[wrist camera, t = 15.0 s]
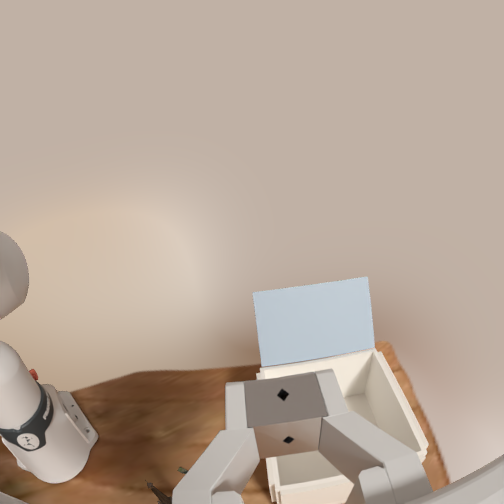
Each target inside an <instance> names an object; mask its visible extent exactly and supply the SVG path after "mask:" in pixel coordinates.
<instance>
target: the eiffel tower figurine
mask: <svg viewBox="0 0 504 504" xmlns="http://www.w3.org/2000/svg"><path fill="white" fill-rule="evenodd" d="M177 471H179V472H181V473H184V474H187V472H188V471H187V470H185V469H183V468H181V467H180V468H179V469H178V470H177ZM145 481H146V480H145ZM146 482H147V481H146ZM147 485H148V488H150V489H151V490H152V491H153V492H154V494H155V495H156V496H157V497H158V499H159V500H160V501H158V504H172V497H168V496H166V495H164V494H163V493H162V492H160V491H159V490H158V489H157V488H155V487H154V486H153V484H152V483H148V482H147Z"/></svg>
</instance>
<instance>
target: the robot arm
mask: <svg viewBox="0 0 504 504" xmlns="http://www.w3.org/2000/svg"><path fill="white" fill-rule="evenodd" d="M28 286H29V273H28V267H27V263H26V259H25V257H24V255H23V253H22V251H21V249H20V248H19V246H18V245H17V243H16V242H15V241H14V240H13V239H12V238H11V237H9V236H8V235H6V234H5V233H3V232H0V320H1V319H2V318H4V317H5V316H7V315H8V314H9V313H11V312H12V311H13V310H15V309H16V308H17V307H18V306H20V305H21V304H22V303H24V301H25V298H26V296H27V291H28ZM35 380H38V376H37V373H36V372H35V370H34V369H32V370H30V371H28V370H27V368H26V366H25V364H24V363H23V361H22V360H21V358H20V356H19V355H18V353H17V352H16V351H15V350H14V349H13V348H12V347H11V346H9V345H8V344H6V343H5V342H2V341H0V435H1V436H2V441H3V443H4V444H5V445H6V446H7V448H8V449H9V450H10V451H11V452H12V453H13V454H14V456H15V457H16V458H17V464H18V465H19V466H20V467H21V468H22V469H24V470H27V471H30V472H32V473H33V474H34V475H35V476H36V477H37V478H39V479H40V480H42V481H45V482H48V483H61V482H65V481H68V480H70V479H72V478H73V477H75V476H76V475H77V474H78V473H79V472H80V471H81V470H82V469H83V467H84V466H85V464H86V462H87V459H88V456H89V452H90V450H91V448H92V446H93V445H94V444H95V442H96V441H97V439H98V434H97V432H96V431H95V429H94V428H93V427H92V425H91V424H90V422H89V421H88V419H87V418H86V416H85V415H84V413H83V412H82V410H81V409H80V407H79V406H78V404H77V403H76V401H75V400H74V398H73V397H72V395H71V394H70V393H69V392H67V391H59V392H57V390H56V389H55V387H54V386H52V385H49V384H43V385H40V384H39V383H38V382H37V381H35ZM225 422H226V430H220V431H219V433H218V434H217V435H216V437H215V438H214V439H213V441H212V442H211V443H210V445H209V446H208V447H207V448H206V450H205V451H204V452H203V454H202V455H201V456H200V457H199V459H198V460H197V461H196V462H195V464H194V465H193V466H192V467H191V469H190V470H189V471H188V472H187V474H186V475H185V476H184V477H183V479H182V480H181V481H180V482H179V483H178V485H177V486H176V487H175V488H174V489H173V496H172V504H244V502H243V500H242V497H241V493H242V491H243V489H244V488H245V486H246V484H247V483H248V481H249V479H250V477H251V476H252V474H253V472H254V470H255V468H256V467H257V465H258V463H259V461H260V459H263V458H270V457H277V456H284V455H290V454H297V453H304V452H311V451H317V450H319V451H318V452H319V453H321V454H322V455H323V456H324V457H325V458H326V459H327V460H328V461H329V462H330V463H331V464H332V465H333V466H334V467H335V468H336V469H338V470H339V471H340V472H341V473H342V474H343V475H344V476H345V477H346V478H347V479H349V480H350V481H351V482H352V483H353V484H354V486H353V488H352V490H351V492H350V494H349V496H348V498H347V500H346V502H345V504H504V454H503V455H502V456H500V457H499V458H497V459H495V460H494V461H492V462H490V463H489V464H487V465H485V466H483V467H482V468H480V469H478V470H476V471H474V472H473V473H471V474H469V475H467V476H465V477H463V478H461V479H459V480H457V481H455V482H453V483H451V484H449V485H447V486H445V487H443V488H440V489H438V490H436V491H434V492H433V490H432V488H431V485H430V483H429V480H428V478H427V476H426V473H425V471H424V468H423V466H422V464H421V461H420V459H419V457H418V454H417V452H415V451H414V450H412V449H411V448H409V447H407V446H406V445H404V444H403V443H401V442H400V441H398V440H396V439H395V438H393V437H392V436H390V435H389V434H387V433H386V432H384V431H383V430H381V429H380V428H378V427H377V426H375V425H374V424H372V423H371V422H369V421H368V420H366V419H365V418H363V417H362V416H360V415H359V414H358V413H356V412H355V411H350V412H348V409H347V406H346V403H345V400H344V398H343V395H342V392H341V389H340V386H339V384H338V381H337V378H336V376H335V373H334V370H333V369H332V368H331V369H325V370H320V371H314V372H307V373H302V374H296V375H289V376H283V377H279V378H271V379H261V380H250V381H240V382H228V383H226V386H225ZM89 431H90V432H89ZM88 432H89V433H88ZM0 504H28V503H26V502H23V501H21V500H18V499H16V498H13V497H11V496H9V495H6V494H4V493H2V492H0Z"/></svg>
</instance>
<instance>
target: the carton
mask: <svg viewBox="0 0 504 504" xmlns="http://www.w3.org/2000/svg"><path fill="white" fill-rule="evenodd" d="M331 368H332V369H333V370H334V373H335V376H336V378H337V381H338V384H339V386H340V389H341V392H342V395H343V398H344V400H345V403H346V406H347V409H348V412H350V411H355V412H356V413H358V414H359V415H360V416H362V417H363V418H365V419H366V420H368V421H369V422H371V423H372V424H374V425H375V426H377V427H378V428H380V429H381V430H383V431H384V432H386V433H387V434H389V435H390V436H392V437H393V438H395V439H396V440H398V441H400V442H401V443H403V444H404V445H406V446H407V447H409V448H411V449H412V450H414V451H415V452H417V454H418V457H419V459H420V461H421V463H422V462H423V461H424V459H425V458H426V457H425V455H426V454H427V450H426V448H427V447H428V445H429V444H428V442H427V440H426V438H425V436H424V434H423V431H422V429H421V427H420V425H419V423H418V421H417V419H416V417H415V415H414V413H413V411H412V409H411V407H410V405H409V403H408V401H407V399H406V397H405V395H404V394H403V392H402V390H401V388H400V386H399V384H398V382H397V380H396V378H395V376H394V374H393V373H392V371H391V369H390V367H389V365H388V363H387V361H386V360H385V358H384V356H383V354H382V352H377V350H376V348H374V349H369V350H365V351H360V352H355V353H350V354H345V355H340V356H335V357H329V358H324V359H318V360H312V361H306V362H299V363H293V364H286V365H279V366H271V367H264V368H260V373H256V376H257V380H261V379H271V378H279V377H283V376H289V375H296V374H302V373H307V372H314V371H320V370H325V369H331ZM318 451H319V450H317V451H311V452H304V453H297V454H290V455H284V456H277V457H270V458H266V464H267V473H268V481H269V488H270V493H271V499H272V502H275V501H277V504H342V503H345V502H346V500H347V498H348V496H349V494H350V492H351V490H352V488H353V486H354V484H353V483H352V482H351V481H350V480H349V479H347V478H346V477H345V476H344V475H343V474H342V473H341V472H340V471H339V470H338V469H336V468H335V467H334V466H333V465H332V464H331V463H330V462H329V461H328V460H327V459H326V458H325V457H324V456H323V455H322V454H321V453H319V452H318Z"/></svg>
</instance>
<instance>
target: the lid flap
mask: <svg viewBox="0 0 504 504" xmlns="http://www.w3.org/2000/svg"><path fill="white" fill-rule="evenodd" d="M253 300H254V308H255V316H256V324H257V332H258V341H259V349H260V357H261V365H262V367H265V366H272V365H280V364H287V363H294V362H300V361H307V360H313V359H319V358H324V357H330V356H335V355H341V354H346V353H351V352H356V351H361V350H365V349H370V348H375V344H374V332H373V320H372V311H371V301H370V292H369V284H368V277H361V278H355V279H348V280H341V281H335V282H328V283H321V284H314V285H306V286H299V287H292V288H284V289H277V290H269V291H261V292H253Z"/></svg>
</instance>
